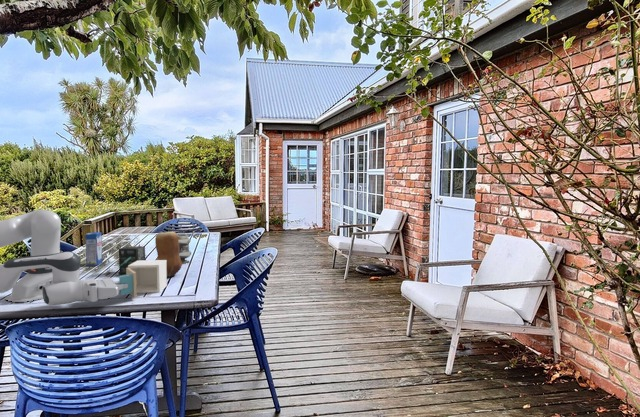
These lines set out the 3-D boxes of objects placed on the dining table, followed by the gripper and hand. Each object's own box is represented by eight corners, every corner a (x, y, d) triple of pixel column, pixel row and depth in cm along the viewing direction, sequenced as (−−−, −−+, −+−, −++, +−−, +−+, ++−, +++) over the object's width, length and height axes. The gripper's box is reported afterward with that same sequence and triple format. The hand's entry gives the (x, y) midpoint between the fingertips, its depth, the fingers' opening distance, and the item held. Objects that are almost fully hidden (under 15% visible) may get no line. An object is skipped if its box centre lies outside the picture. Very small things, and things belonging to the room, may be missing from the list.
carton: (159, 292, 183) (158, 264, 182) (128, 292, 181) (127, 265, 181) (167, 285, 195) (166, 259, 194) (138, 286, 193) (137, 260, 193)
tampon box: (146, 270, 228) (145, 246, 227) (137, 274, 219) (136, 248, 218) (128, 270, 229) (127, 245, 228) (119, 273, 220) (118, 248, 219)
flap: (121, 299, 167) (121, 274, 166) (115, 293, 177) (114, 269, 176) (136, 297, 170) (136, 272, 170) (129, 290, 181) (128, 267, 180)
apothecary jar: (168, 263, 250) (167, 235, 249) (184, 260, 259) (184, 233, 258) (177, 265, 242) (177, 237, 241) (195, 262, 251) (194, 235, 250)
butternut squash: (160, 273, 220) (159, 230, 219) (184, 273, 221) (183, 229, 220) (152, 279, 206) (151, 233, 205) (178, 279, 208) (177, 232, 206)
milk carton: (97, 265, 241) (96, 234, 240) (86, 266, 239) (85, 234, 238) (102, 262, 251) (101, 232, 249) (92, 263, 249) (90, 232, 248)
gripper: (88, 291, 171) (123, 286, 179) (93, 303, 154) (131, 297, 162) (87, 277, 170) (122, 273, 178) (92, 287, 154) (130, 282, 162)
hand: (126, 284), depth 170 cm, fingers closed
